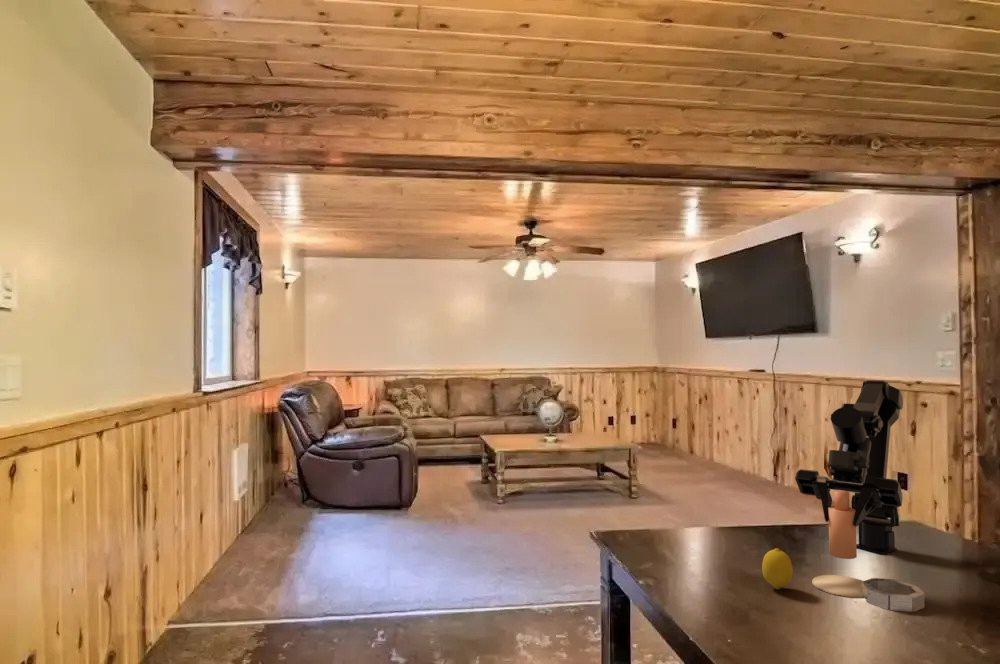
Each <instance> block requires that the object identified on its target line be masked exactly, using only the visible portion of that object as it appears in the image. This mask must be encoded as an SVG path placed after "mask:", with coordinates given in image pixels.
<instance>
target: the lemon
mask: <svg viewBox="0 0 1000 664" xmlns="http://www.w3.org/2000/svg"><path fill="white" fill-rule="evenodd" d="M761 571H762V575H763V578H764V579H765V580H766V582H767V583H768V584H769V585H771V586H773V588H775V590H780V589H782V588H783V587H786V586H788V584H790V582H791V580H792V578H793V573H794V572H793V571H794V570H793V564H792V561H791V558H790V557H789V555H788V554H786V552H784V551H783V550H781V549H780V548H778V547H776V548H774V549H771V550H769V551H767V552H766V553H765V554H764V556H763V559H762V565H761Z"/></svg>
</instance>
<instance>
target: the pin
mask: <svg viewBox="0 0 1000 664" xmlns="http://www.w3.org/2000/svg"><path fill="white" fill-rule="evenodd" d="M833 491H834V492H833V494H834V495H833V496H834V498H833V499H834V506H833V505H831V507H829V508H828V511H829V520H828V547H829V548H828V549H829V550H828V552H829V553H828V554H829V555H830V556H832V557H834V558H838V559H843V560H854V559H857V557H858V555H857V554H858V553H857V550H858V548H856V544H857V527H856V526H854V516H855V513H856V510H855V509H852V507H850V492H848V491H844V490H833Z"/></svg>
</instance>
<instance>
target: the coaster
mask: <svg viewBox="0 0 1000 664" xmlns="http://www.w3.org/2000/svg"><path fill="white" fill-rule="evenodd" d="M862 581H863V580H862V579H859V578H856V577H850V576H845V575H837V574H824V575H823V574H822V575H818V576H815V577H814V578H812V581H811V582H812V584H811V585H813V587H815V588H816V589H817V588H818V589H817V590H819V589H820V590H819V591H821V590H823V591H822V592H824V591H825V592H824V593H826V592H828V593H827V594H830V593H831V594H830V595H833V594H836V595H835V596H838V595H841V596H840V597H843V596H846V597H845V598H853V597H863V598H864V595H863V594H862Z"/></svg>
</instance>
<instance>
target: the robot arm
mask: <svg viewBox="0 0 1000 664" xmlns="http://www.w3.org/2000/svg"><path fill="white" fill-rule="evenodd" d="M903 406H904V399H903V394H902V392H901V390H900V389H898V388H896V387H894V386H892V385H890V384H889V382H888V381H885V380H881V379H880V380H873V379H867V380H864V381H862V387H861V388H860V393H859V395H858V397H857V399H856V401H855V403H845V402H844V403H843V406H842V407H839V408H837V409H835V410H834V411H833V412H832V413H831V414H830V421H831V425H832V428H833V430H834V435H835V437H836V440H837V442H839V447H838V450H837V449H835V450H834V449H829V453H828V463H827V466H828V467H829V468H830V469H829V474H830V476H832V478H828V477H827V476H825V475H820V474H819V470H813V469H803V468H801V469H798V470H797V471H796V474H795V477H794V479H795V481H796V485H797V487H798V489H799V492H800V494H803V495H807V496H812V497H813V496H815V499H818V500H820V501H821V506H822V511H823V517H824V520H825V522H826V523H829V511H828V508H829V507H832V503H833V498H832V495H831V490H833V491H835V490H844V491H848V492H849V493H854V494H852V496H851V503H850V504H851V505H850V506H851V508H852V509H855V510H856V513H855V516H854V526H856V528H857V527H858V543H856V549H860V550H865V551H868V552H872V553H874V554H875V553H876V554H880V555H884V554H888V553H891V552H895V551H897V547H896V546H895V544H896V543H895V531H894V530H893V528H895V527H900V517H899V516H900V515H899V511H898V510H899V509H898V508H900V507H902V504H903V492H902V487H901V485H900V482H899V481H898V480H897V479H894V478H893V479H892V478H887V474H888V461H889V451H890V450H889V449H890V437H891V427H892V426H893V425H894V424H895V423H896V422H897V421H898V420H899V418H900V410H901V411H902V410H903Z"/></svg>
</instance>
